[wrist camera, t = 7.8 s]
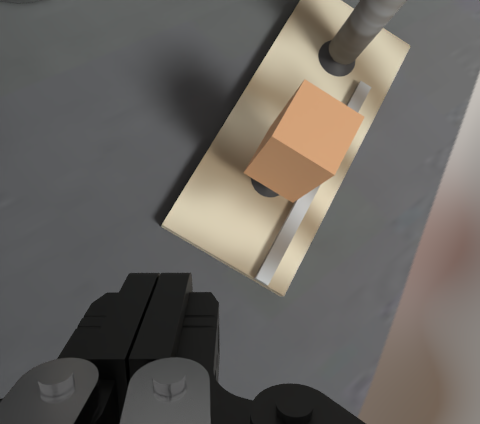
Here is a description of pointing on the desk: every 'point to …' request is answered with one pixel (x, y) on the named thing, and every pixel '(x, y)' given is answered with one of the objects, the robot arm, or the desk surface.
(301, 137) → the tan wooden block
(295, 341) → the desk surface
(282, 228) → the plate
